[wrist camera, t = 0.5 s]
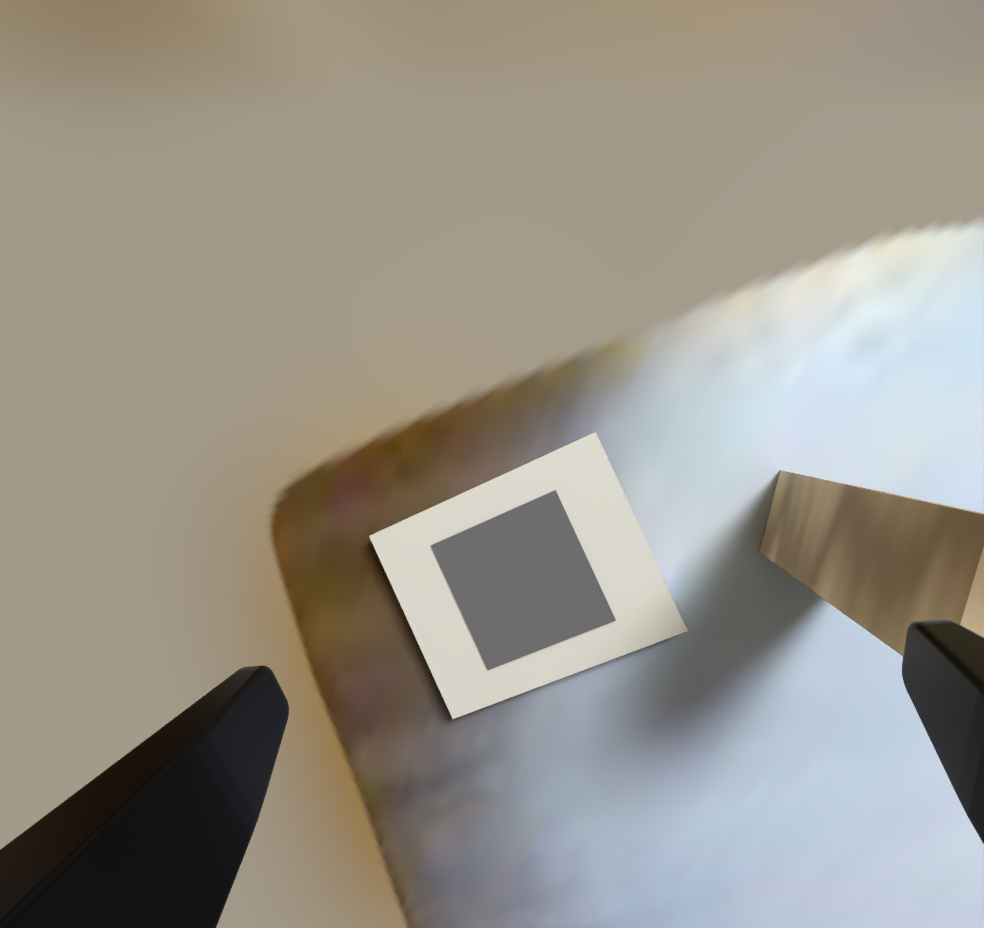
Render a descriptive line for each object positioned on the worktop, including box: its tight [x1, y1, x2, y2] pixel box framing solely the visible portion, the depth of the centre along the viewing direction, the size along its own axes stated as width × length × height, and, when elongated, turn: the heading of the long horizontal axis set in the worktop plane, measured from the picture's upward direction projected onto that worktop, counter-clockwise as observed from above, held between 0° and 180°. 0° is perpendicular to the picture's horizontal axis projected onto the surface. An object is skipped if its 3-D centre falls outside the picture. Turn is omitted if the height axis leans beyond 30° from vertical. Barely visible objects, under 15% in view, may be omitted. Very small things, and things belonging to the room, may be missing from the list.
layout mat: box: [369, 432, 688, 719], centre depth 24 cm, size 11×9×1 cm
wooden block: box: [759, 470, 984, 656], centre depth 17 cm, size 4×4×12 cm
